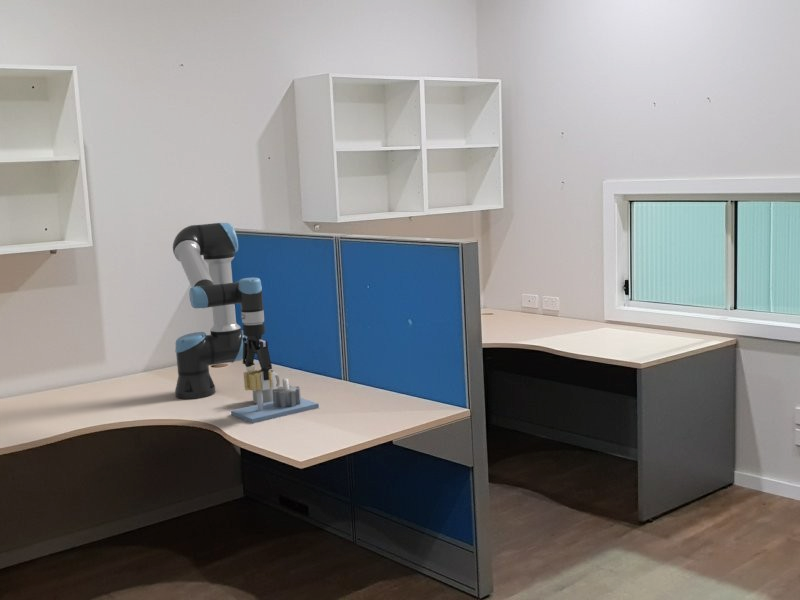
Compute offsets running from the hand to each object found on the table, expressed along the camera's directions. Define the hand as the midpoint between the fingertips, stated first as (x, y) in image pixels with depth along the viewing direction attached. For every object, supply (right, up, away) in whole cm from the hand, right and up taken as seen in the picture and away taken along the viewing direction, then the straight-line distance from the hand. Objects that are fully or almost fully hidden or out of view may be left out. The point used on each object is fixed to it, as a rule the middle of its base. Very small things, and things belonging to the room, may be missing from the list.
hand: (258, 387), depth 321 cm
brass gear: (0, 0, 0) cm, 0 cm away
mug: (0, -7, +21) cm, 22 cm away
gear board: (+5, -9, +5) cm, 11 cm away
